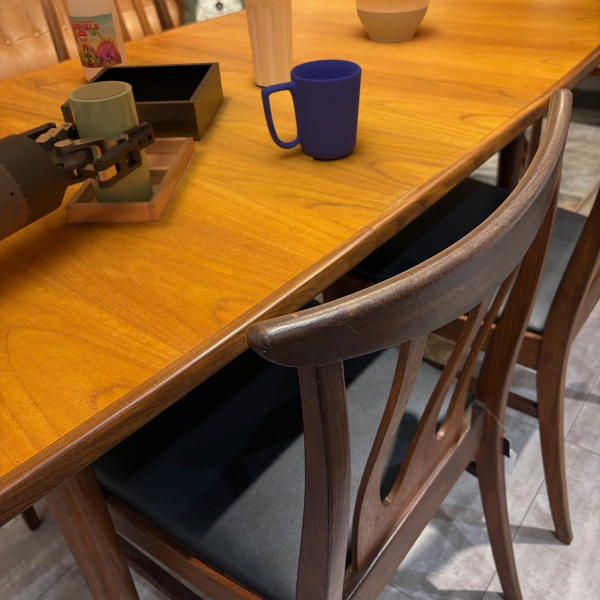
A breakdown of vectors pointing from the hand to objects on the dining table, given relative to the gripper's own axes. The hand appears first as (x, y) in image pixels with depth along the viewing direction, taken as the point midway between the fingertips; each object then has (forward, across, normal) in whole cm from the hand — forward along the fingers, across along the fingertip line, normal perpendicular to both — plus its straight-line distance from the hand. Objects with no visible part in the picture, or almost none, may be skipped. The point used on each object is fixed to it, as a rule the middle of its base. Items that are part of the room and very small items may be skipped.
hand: (126, 126), depth 65 cm
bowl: (+73, +1, +8) cm, 73 cm away
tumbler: (-2, 0, +8) cm, 8 cm away
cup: (+40, +7, +8) cm, 42 cm away
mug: (+17, -13, +8) cm, 23 cm away
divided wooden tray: (+2, +2, +8) cm, 8 cm away
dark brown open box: (+19, +15, +8) cm, 25 cm away
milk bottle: (+32, +37, +8) cm, 50 cm away
